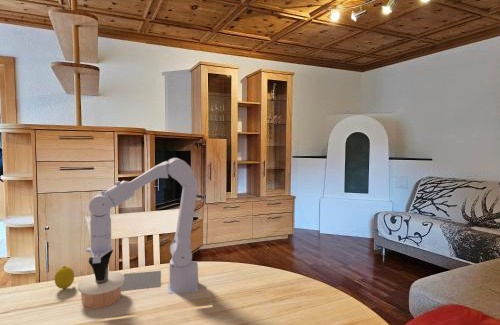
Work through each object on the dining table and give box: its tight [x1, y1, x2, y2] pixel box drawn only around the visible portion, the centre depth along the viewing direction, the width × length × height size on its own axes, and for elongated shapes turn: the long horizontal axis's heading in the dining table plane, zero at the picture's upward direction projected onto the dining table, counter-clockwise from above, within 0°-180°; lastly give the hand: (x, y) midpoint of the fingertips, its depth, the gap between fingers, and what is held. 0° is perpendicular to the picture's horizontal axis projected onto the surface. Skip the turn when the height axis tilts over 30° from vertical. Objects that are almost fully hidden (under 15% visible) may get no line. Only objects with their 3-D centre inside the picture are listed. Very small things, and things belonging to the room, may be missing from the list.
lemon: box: [54, 265, 75, 290], centre depth 102 cm, size 6×6×8 cm
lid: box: [77, 267, 125, 295], centre depth 96 cm, size 13×13×4 cm
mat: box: [121, 270, 162, 292], centre depth 109 cm, size 13×13×1 cm
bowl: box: [80, 286, 122, 309], centre depth 96 cm, size 11×11×4 cm
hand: (101, 276), depth 96 cm, fingers closed on lid, 4 cm apart
